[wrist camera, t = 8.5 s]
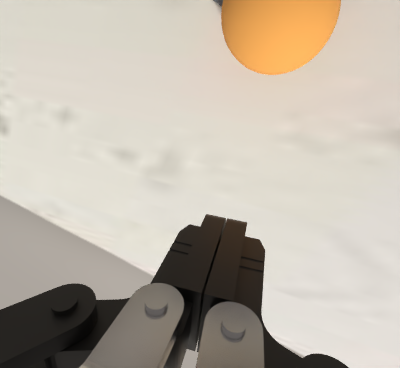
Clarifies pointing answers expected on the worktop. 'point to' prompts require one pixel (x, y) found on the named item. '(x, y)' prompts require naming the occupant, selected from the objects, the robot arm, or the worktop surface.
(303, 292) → the worktop surface
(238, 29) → the ball
